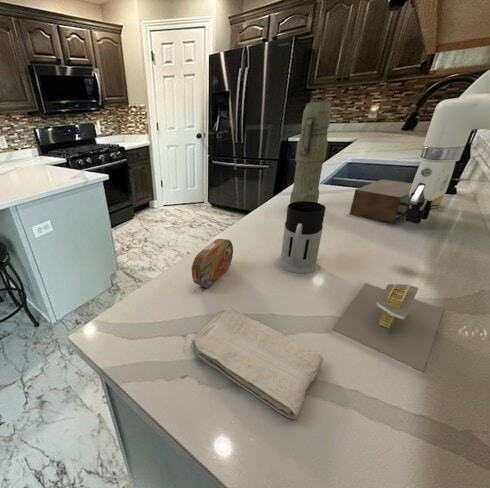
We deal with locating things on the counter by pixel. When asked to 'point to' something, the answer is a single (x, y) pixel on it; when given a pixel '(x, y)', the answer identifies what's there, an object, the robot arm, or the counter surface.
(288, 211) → the glass holder
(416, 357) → the platform
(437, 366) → the counter surface
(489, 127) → the robot arm
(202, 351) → the washcloth
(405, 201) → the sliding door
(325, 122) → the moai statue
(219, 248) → the tin
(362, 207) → the cabinet
